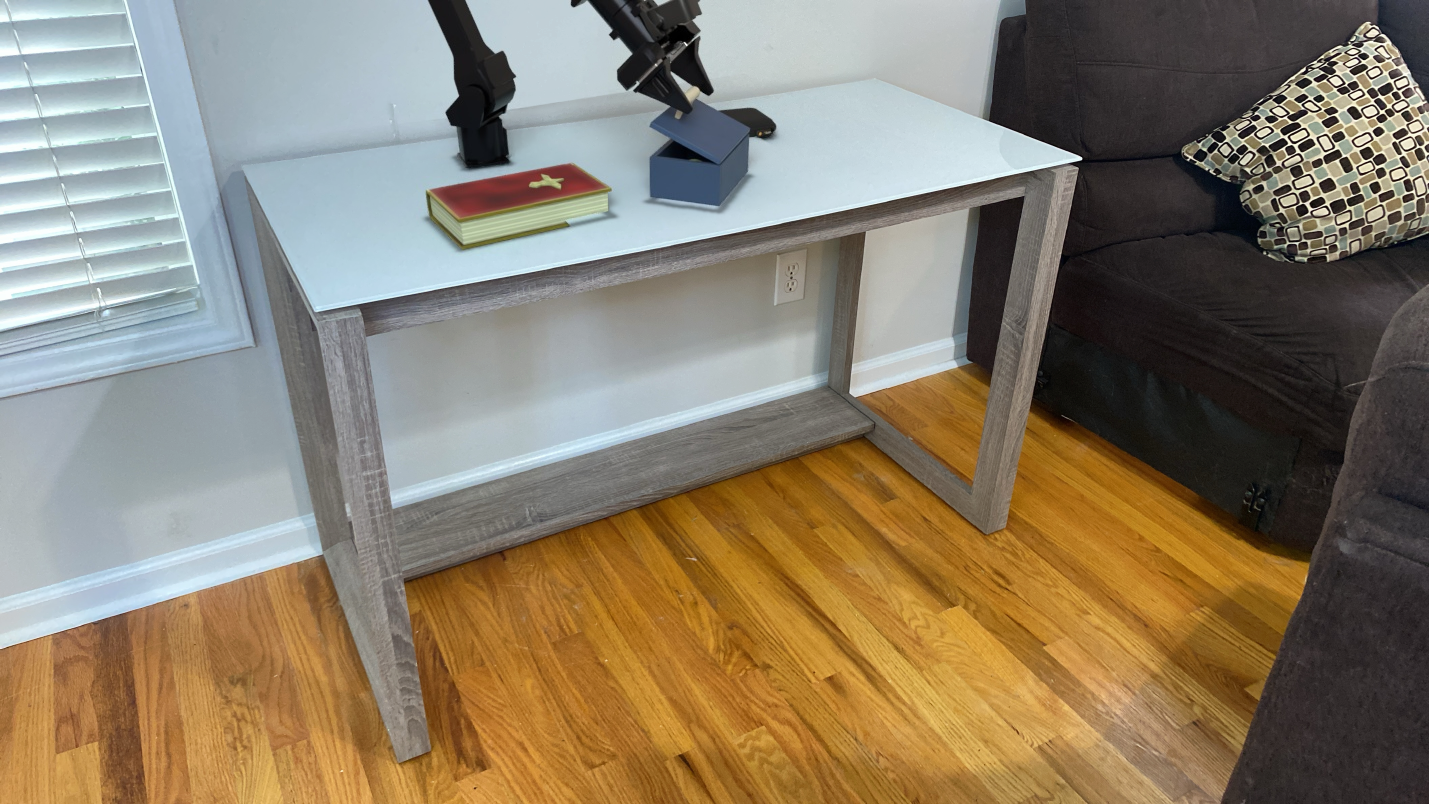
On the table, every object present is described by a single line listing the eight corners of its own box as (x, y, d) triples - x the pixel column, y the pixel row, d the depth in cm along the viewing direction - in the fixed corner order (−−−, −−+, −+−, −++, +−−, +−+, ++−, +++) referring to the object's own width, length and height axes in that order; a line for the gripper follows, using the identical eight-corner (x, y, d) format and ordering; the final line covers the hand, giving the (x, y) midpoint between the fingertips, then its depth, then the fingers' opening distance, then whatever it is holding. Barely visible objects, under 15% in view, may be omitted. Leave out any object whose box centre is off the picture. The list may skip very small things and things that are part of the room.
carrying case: (699, 150, 152) (783, 140, 157) (699, 130, 151) (784, 122, 156) (675, 130, 161) (756, 121, 165) (675, 111, 159) (757, 104, 164)
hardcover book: (429, 217, 127) (424, 186, 125) (572, 188, 137) (570, 159, 135) (462, 249, 119) (458, 217, 117) (612, 216, 129) (611, 186, 127)
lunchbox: (650, 202, 134) (649, 157, 130) (683, 168, 145) (684, 126, 142) (718, 211, 131) (720, 165, 128) (747, 176, 143) (749, 133, 139)
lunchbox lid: (649, 127, 128) (659, 98, 125) (684, 98, 140) (695, 71, 137) (719, 165, 128) (731, 137, 125) (748, 133, 139) (760, 107, 137)
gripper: (637, -21, 116) (722, 81, 120) (687, -44, 131) (761, 48, 135) (581, 41, 122) (663, 136, 126) (634, 12, 137) (706, 99, 141)
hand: (701, 102), depth 132 cm, fingers open, 9 cm apart
